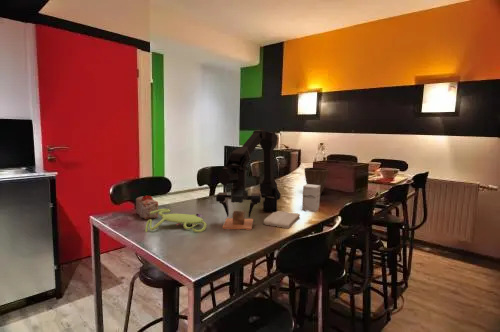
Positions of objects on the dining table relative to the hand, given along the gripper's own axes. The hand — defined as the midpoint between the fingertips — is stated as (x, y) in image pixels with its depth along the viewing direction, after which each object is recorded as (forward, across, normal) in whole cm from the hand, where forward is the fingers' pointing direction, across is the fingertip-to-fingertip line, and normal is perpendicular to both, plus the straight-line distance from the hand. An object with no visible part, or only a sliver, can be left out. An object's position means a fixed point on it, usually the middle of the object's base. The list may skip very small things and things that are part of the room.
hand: (238, 216), depth 127 cm
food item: (+4, -44, +7) cm, 45 cm away
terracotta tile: (+4, 0, 0) cm, 4 cm away
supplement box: (+4, +35, +28) cm, 45 cm away
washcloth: (+4, +20, +7) cm, 21 cm away
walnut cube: (+3, 0, 0) cm, 3 cm away
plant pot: (+4, +43, +65) cm, 78 cm away
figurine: (+4, -27, -3) cm, 27 cm away
